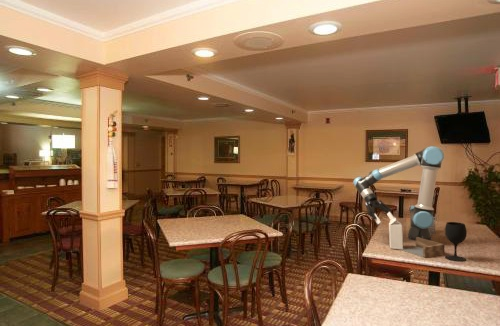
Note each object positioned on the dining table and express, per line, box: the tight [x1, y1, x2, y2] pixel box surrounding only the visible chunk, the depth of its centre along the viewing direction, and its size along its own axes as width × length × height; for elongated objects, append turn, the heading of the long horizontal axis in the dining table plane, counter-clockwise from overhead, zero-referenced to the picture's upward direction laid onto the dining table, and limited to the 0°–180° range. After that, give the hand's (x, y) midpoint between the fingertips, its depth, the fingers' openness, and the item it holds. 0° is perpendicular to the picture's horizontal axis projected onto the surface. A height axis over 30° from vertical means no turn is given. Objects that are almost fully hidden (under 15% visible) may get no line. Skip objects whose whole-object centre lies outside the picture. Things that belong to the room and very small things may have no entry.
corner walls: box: [415, 237, 445, 259], centre depth 198 cm, size 16×19×6 cm
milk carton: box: [388, 217, 404, 250], centre depth 207 cm, size 7×7×19 cm
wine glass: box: [444, 221, 467, 263], centre depth 184 cm, size 10×10×20 cm
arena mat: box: [399, 246, 424, 258], centre depth 198 cm, size 15×16×1 cm
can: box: [429, 216, 436, 235], centre depth 247 cm, size 11×11×12 cm
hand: (386, 222), depth 211 cm, fingers open, 13 cm apart
